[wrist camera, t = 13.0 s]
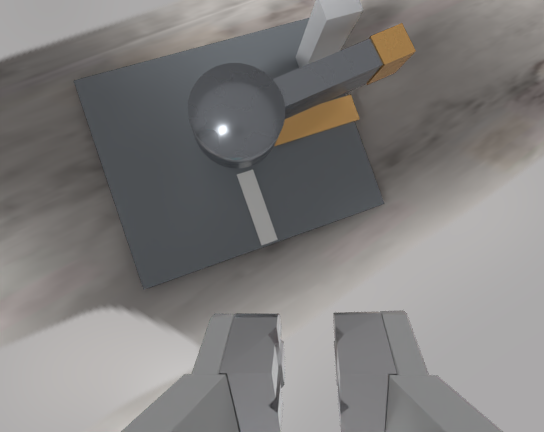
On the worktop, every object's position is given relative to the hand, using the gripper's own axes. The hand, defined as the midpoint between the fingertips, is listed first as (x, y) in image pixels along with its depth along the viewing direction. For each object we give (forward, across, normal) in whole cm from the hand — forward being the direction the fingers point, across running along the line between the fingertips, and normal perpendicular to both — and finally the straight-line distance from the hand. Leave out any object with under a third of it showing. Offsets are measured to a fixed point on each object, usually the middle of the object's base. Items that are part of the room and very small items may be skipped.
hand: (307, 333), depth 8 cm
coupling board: (+27, -7, -3) cm, 29 cm away
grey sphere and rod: (+24, -1, +1) cm, 24 cm away
